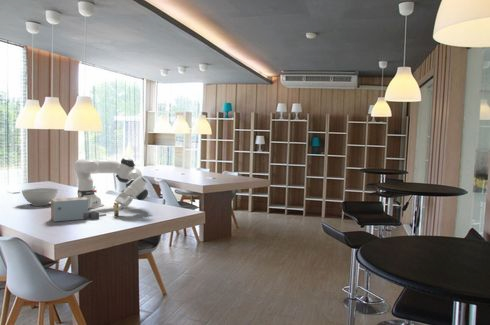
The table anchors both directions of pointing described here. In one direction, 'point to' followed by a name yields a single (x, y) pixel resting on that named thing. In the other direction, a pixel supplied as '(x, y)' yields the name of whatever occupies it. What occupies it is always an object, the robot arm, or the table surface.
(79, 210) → the cabinet door
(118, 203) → the hinge pin
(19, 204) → the table surface
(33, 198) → the decorative bowl
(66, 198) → the cabinet
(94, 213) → the grey hollow ring
